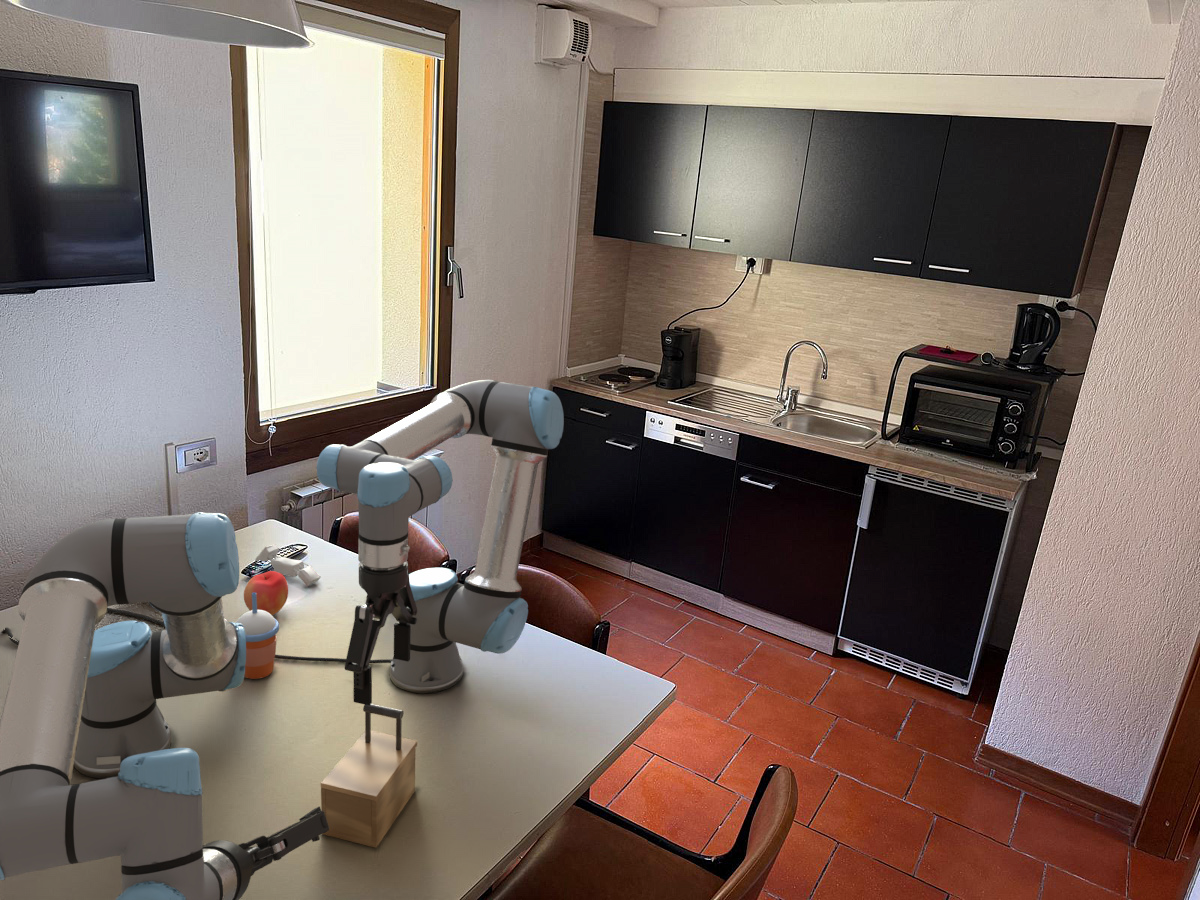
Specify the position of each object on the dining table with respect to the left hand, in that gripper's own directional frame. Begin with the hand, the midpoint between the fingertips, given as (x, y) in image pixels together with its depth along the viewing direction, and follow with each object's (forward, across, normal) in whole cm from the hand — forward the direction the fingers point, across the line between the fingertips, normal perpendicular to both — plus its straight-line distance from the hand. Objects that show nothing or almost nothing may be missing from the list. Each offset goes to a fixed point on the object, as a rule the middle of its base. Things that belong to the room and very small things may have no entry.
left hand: (272, 836), depth 117 cm
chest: (+26, +6, -4) cm, 27 cm away
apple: (+80, -18, +40) cm, 91 cm away
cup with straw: (+59, -16, +27) cm, 67 cm away
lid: (+22, +9, +3) cm, 24 cm away
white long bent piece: (+98, -16, +50) cm, 111 cm away
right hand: (+19, +16, +15) cm, 29 cm away
